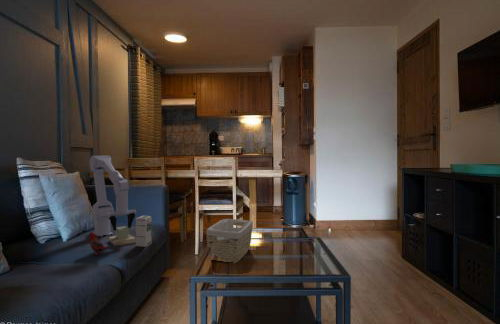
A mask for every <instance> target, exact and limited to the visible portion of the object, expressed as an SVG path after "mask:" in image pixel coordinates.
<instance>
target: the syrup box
mask: <svg viewBox="0 0 500 324" xmlns="http://www.w3.org/2000/svg"><path fill="white" fill-rule="evenodd" d="M152 222H153V221H152V216H150V215H141V216H139V217H135V234H136V235H135V236H136V237H135V243H136V247H143V248H145V247H147V248H148V246H150V245H151V244H152V243H153V230H152V229H153V228H152V227H153V225H152Z"/></svg>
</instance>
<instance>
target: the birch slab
mask: <svg viewBox="0 0 500 324" xmlns="http://www.w3.org/2000/svg"><path fill="white" fill-rule="evenodd" d="M109 240H110V241H111V242H113V243H114V244H115V245H121V246H125V245H130V244H134V243H136V237H134V236H133V235H131V234H130V233H129V238H125V239H118V238H116V235H113V236H111V235H110V236H109V237H108V241H109ZM115 245H114V246H115Z"/></svg>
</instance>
